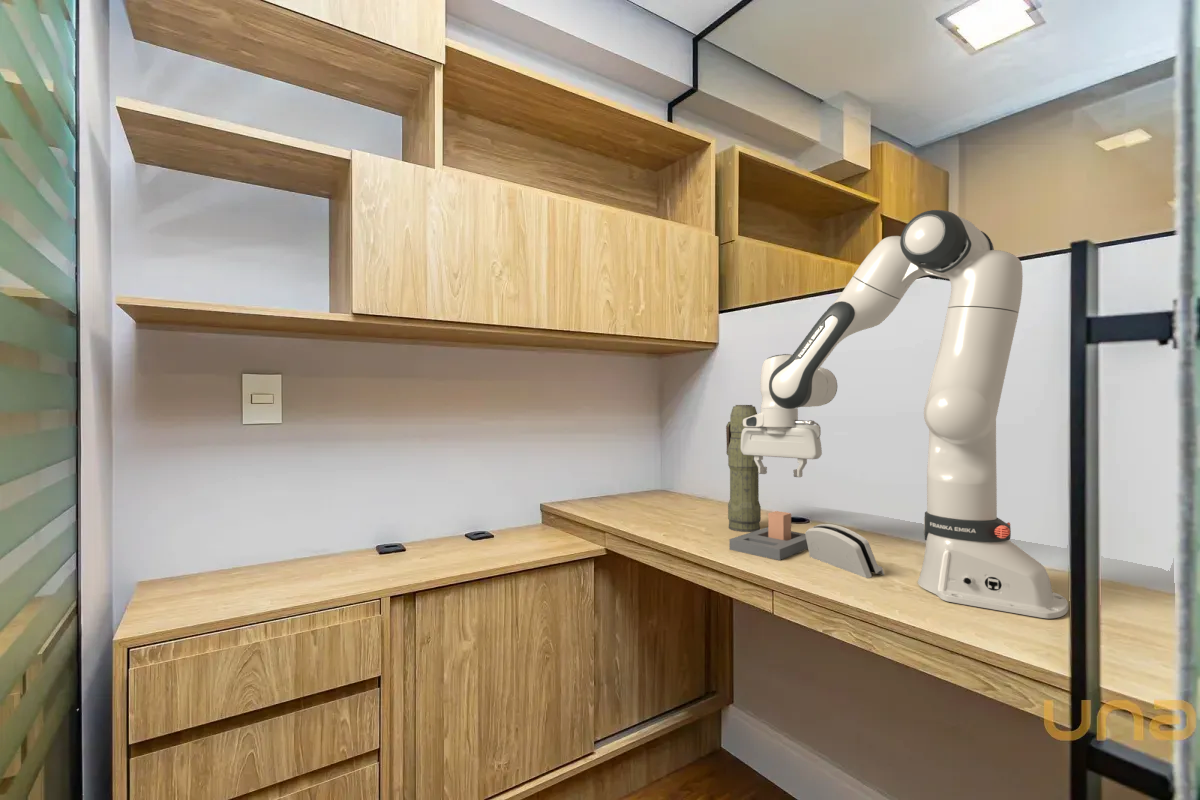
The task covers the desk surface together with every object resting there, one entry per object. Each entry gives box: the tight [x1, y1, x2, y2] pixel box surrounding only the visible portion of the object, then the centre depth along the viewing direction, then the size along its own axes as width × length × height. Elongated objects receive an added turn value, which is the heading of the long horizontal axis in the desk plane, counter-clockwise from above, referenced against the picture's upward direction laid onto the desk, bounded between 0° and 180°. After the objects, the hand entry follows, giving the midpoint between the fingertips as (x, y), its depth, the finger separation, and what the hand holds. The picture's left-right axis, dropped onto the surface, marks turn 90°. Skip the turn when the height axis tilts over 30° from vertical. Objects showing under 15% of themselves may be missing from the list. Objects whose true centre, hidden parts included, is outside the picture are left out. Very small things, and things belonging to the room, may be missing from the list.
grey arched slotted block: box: [804, 523, 885, 579], centre depth 119 cm, size 17×5×10 cm, turn 20°
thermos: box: [725, 404, 762, 533], centre depth 155 cm, size 9×12×35 cm
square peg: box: [767, 510, 792, 541], centre depth 136 cm, size 4×4×8 cm
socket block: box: [729, 527, 808, 561], centre depth 134 cm, size 13×18×2 cm
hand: (779, 475), depth 136 cm, fingers open, 8 cm apart
